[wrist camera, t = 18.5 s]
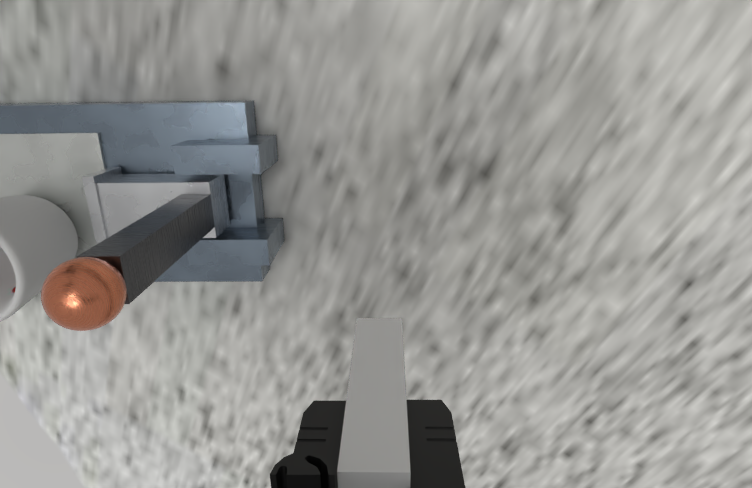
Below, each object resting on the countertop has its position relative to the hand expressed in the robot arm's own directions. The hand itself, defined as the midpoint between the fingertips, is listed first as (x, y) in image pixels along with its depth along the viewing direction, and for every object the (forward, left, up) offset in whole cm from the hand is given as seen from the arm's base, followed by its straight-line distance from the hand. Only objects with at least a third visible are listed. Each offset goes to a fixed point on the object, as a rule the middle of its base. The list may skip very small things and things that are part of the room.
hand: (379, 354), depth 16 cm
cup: (+4, -28, -22) cm, 36 cm away
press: (0, -21, -24) cm, 32 cm away
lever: (0, -16, -22) cm, 27 cm away
